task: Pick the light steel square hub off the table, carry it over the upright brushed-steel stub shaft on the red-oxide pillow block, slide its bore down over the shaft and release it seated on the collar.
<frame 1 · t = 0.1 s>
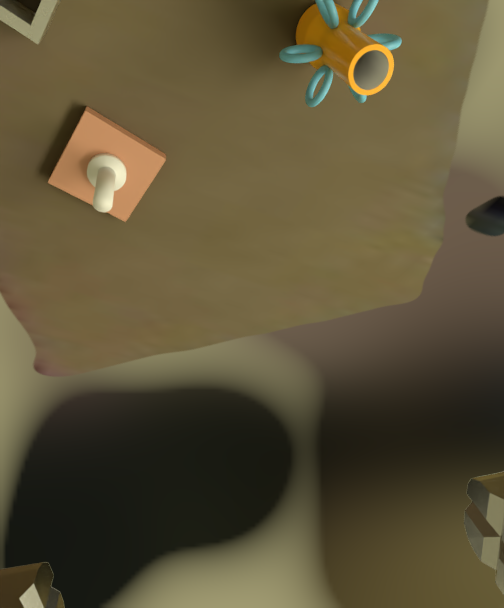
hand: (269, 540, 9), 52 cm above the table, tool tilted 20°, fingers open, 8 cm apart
shaft block: (108, 165, 56), on the table
orange vase with loops: (321, 32, 51), on the table
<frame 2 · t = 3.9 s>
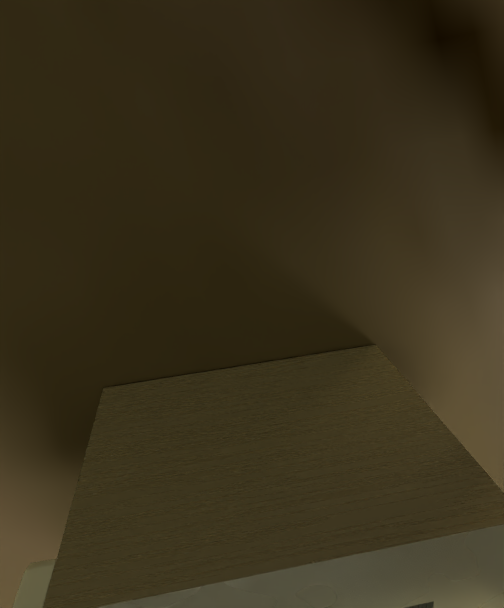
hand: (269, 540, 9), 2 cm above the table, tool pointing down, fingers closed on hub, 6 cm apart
hub: (256, 472, 11), on the table, touching gripper
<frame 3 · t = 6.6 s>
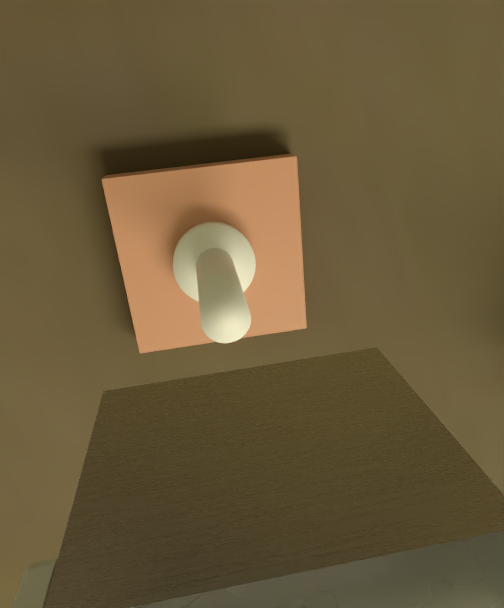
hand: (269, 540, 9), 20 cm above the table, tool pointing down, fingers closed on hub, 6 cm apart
hub: (256, 476, 11), point 18 cm above the table, touching gripper
shaft block: (212, 252, 27), on the table
when the fingers open (7 cm above the table, at t = 9.3 s): hub drops 2 cm, resting on shaft block.
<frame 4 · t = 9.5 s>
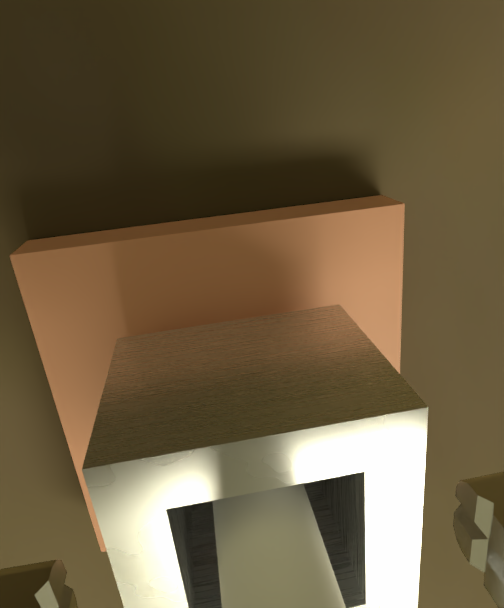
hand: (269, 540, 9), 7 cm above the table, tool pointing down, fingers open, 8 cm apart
hub: (242, 413, 13), point 2 cm above the table, touching shaft block
shaft block: (231, 370, 15), on the table
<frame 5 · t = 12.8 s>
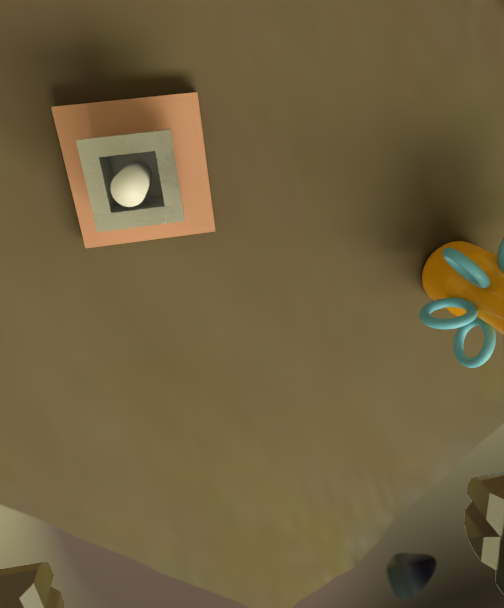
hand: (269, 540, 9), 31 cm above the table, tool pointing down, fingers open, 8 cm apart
hub: (138, 173, 33), point 2 cm above the table, touching shaft block
shaft block: (140, 171, 36), on the table
orange vase with loops: (449, 271, 43), on the table
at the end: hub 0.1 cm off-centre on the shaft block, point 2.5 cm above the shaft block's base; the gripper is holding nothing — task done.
